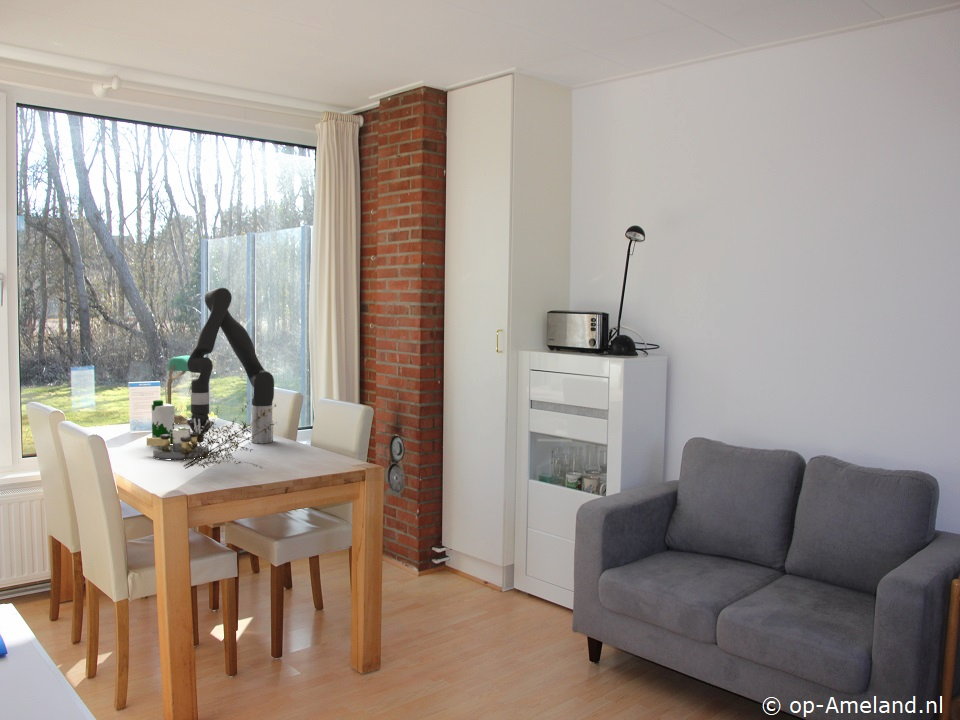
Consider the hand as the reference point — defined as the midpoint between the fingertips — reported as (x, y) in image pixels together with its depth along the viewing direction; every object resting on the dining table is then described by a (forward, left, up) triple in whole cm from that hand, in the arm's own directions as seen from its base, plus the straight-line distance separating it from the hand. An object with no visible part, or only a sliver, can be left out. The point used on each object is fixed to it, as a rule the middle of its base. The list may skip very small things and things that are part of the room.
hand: (200, 442), depth 348 cm
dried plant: (-21, +37, -4) cm, 43 cm away
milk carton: (+19, -12, -4) cm, 23 cm away
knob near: (+2, +3, -1) cm, 4 cm away
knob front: (+14, +11, -1) cm, 18 cm away
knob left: (0, +19, -1) cm, 19 cm away
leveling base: (+5, +11, -4) cm, 12 cm away
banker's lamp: (+26, -72, -4) cm, 77 cm away
